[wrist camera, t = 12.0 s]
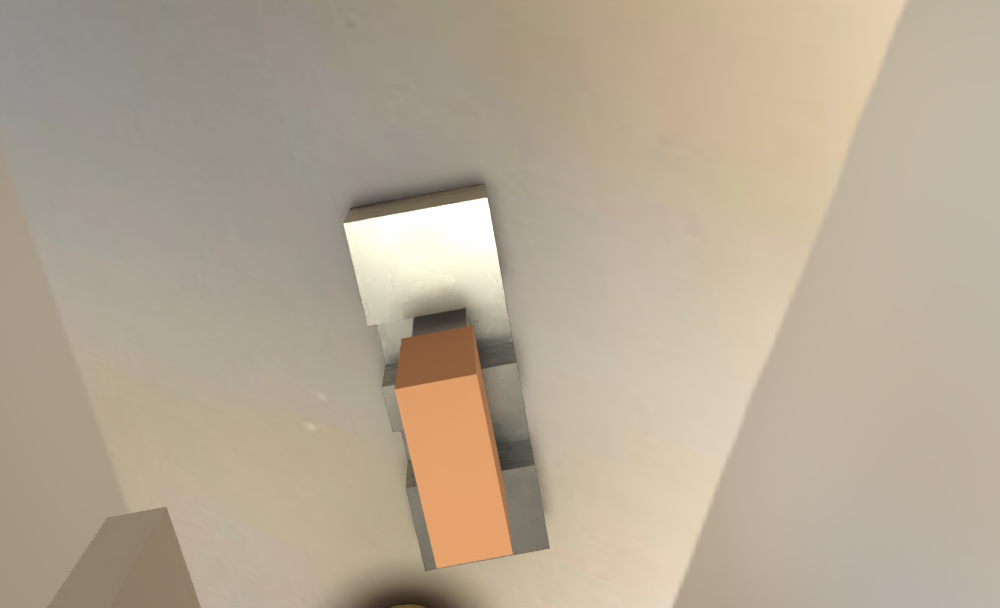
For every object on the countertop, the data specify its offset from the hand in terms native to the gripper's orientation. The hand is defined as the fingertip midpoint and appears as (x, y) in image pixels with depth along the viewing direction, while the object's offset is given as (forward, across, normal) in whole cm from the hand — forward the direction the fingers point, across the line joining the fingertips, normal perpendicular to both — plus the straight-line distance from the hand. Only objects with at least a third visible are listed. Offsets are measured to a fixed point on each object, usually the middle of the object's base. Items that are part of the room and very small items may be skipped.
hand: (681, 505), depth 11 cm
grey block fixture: (+35, -5, -12) cm, 37 cm away
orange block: (+34, -5, -12) cm, 37 cm away
